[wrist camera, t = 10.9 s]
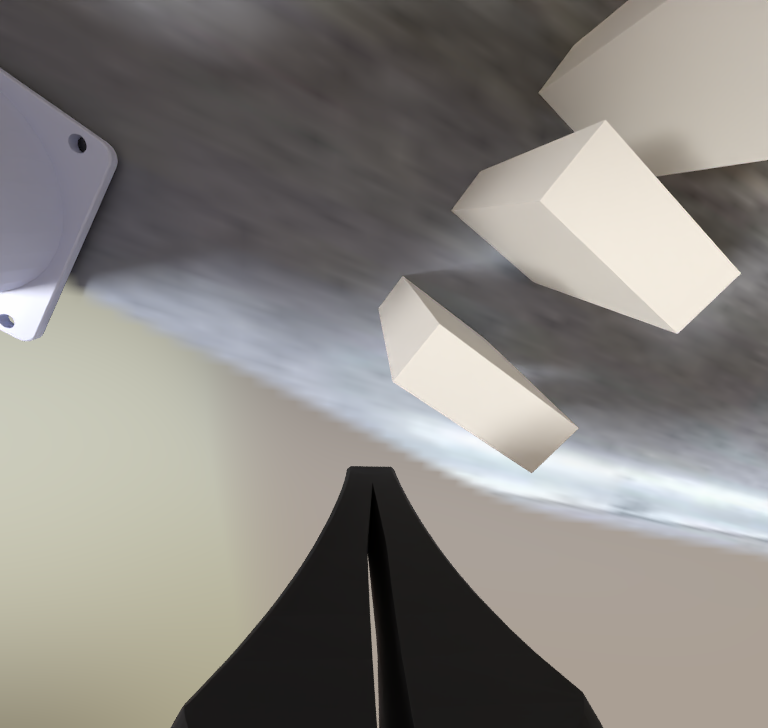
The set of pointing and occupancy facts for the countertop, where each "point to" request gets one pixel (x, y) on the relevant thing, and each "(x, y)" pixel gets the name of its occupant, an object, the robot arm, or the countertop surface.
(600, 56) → the domino
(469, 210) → the domino
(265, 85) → the countertop surface
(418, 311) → the domino
